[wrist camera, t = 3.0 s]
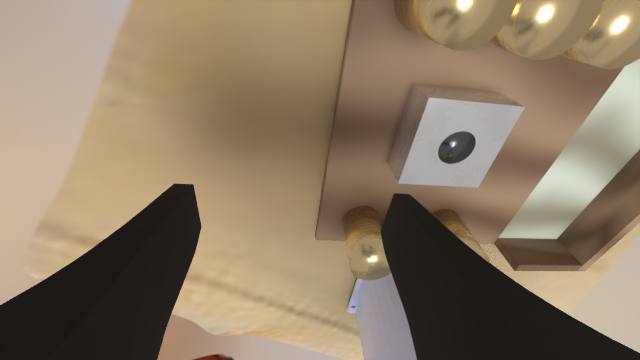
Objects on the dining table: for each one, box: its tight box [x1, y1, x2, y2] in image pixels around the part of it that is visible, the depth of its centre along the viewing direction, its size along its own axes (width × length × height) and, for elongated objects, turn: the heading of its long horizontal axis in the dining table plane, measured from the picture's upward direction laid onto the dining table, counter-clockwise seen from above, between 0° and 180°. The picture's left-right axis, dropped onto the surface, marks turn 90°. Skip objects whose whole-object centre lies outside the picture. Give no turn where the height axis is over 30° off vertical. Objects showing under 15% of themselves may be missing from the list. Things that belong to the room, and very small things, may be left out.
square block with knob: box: [388, 83, 525, 188], centre depth 17 cm, size 6×6×2 cm
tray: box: [315, 0, 640, 271], centre depth 18 cm, size 20×24×4 cm
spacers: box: [342, 0, 640, 280], centre depth 17 cm, size 19×10×4 cm, turn 173°
